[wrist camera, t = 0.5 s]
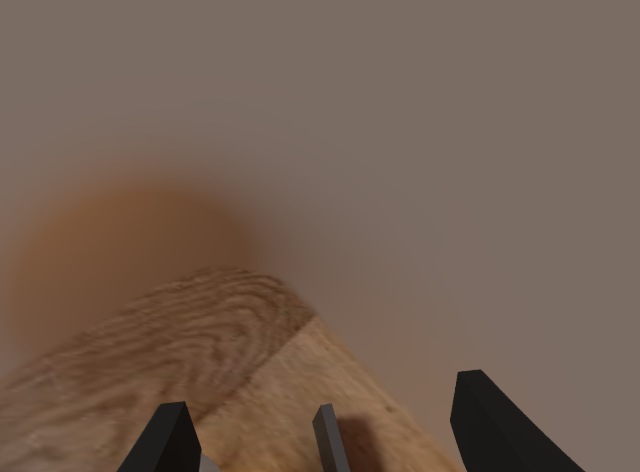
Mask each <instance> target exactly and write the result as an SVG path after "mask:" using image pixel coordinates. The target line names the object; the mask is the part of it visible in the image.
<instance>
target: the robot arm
mask: <svg viewBox="0 0 640 472" xmlns="http://www.w3.org/2000/svg"><path fill="white" fill-rule="evenodd" d="M450 423H451V426H452V429H453V433H454V436H455V439H456V442H457V445H458V448H459V451H460V454H461V457H462V460H463V463H464V465H465V468H466V470H467V472H585V471H584V470H583V469H582V468H580V467H579V466H578V465H577V464H576V463H575V462H574V461H573V460H572V459H570V458H569V457H568V456H567V455H566V454H565V453H564V452H563V451H562V450H561V449H560V448H559V447H558V446H557V445H555V443H554V442H552V441H551V440H550V439H549V438H548V437H547V436H546V435H545V434H544V433H543V432H542V431H541V430H540V429H539V428H538V427H537V426H536V425H535V424H534V423H533V422H532V421H531V420H530V419H529V418H528V417H527V416H526V415H525V414H524V413H523V412H522V411H521V410H520V409H519V408H518V407H517V406H516V405H515V404H514V403H513V402H512V401H511V400H510V399H509V398H508V397H507V396H506V395H505V394H504V393H503V392H502V391H501V390H500V389H499V388H498V387H497V386H496V385H495V384H494V382H493V381H492V380H491V379H490V378H489V377H488V376H487V375H486V374H485V373H484V372H483V371H482V370H471V371H462V372H458V375H457V381H456V387H455V393H454V399H453V406H452V411H451V417H450ZM201 451H202V449H201V446H200V443H199V440H198V437H197V434H196V432H195V429H194V426H193V423H192V420H191V417H190V414H189V411H188V409H187V406H186V403H185V401H183V402H174V403H165V404H161V405H160V406H159V407H158V408H157V410H156V411H155V413H154V415H153V416H152V418H151V419H150V421H149V423H148V424H147V426H146V427H145V429H144V430H143V432H142V434H141V435H140V437H139V438H138V440H137V442H136V443H135V445H134V446H133V448H132V449H131V451H130V452H129V454H128V455H127V457H126V458H125V460H124V462H123V463H122V465H121V466H120V467H119V469H118V470H117V472H199V469H200V460H201Z"/></svg>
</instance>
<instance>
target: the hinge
mask: <svg viewBox="0 0 640 472" xmlns="http://www.w3.org/2000/svg"><path fill="white" fill-rule="evenodd" d="M312 423H313V427H314V431H315V435H316V440H317V444H318V448H319V452H320V457H321V461H322V465H323V469H324V472H350V468H349V464H348V461H347V457H346V454H345V450H344V446H343V443H342V439H341V435H340V432H339V428H338V425H337V421H336V417H335V414H334V410H333V406H332V403H331V404H326V405H321V406H320V408H319V410H318V412H317V413H316V415H315V417H314V419H313V421H312Z"/></svg>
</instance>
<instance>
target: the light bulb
mask: <svg viewBox="0 0 640 472" xmlns="http://www.w3.org/2000/svg"><path fill="white" fill-rule="evenodd" d="M199 472H221V471H220V469H219V468H218V467H217V465H216V464H215V463H214V462H213V461H211V460H210V459H209V458H208V457H207V456H205V455H203V454H202V453H201V460H200V469H199Z"/></svg>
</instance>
